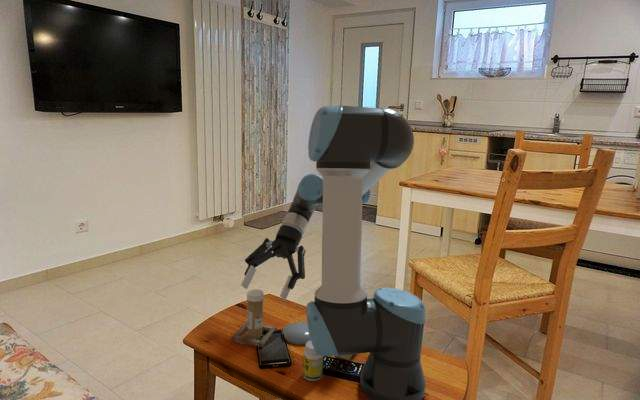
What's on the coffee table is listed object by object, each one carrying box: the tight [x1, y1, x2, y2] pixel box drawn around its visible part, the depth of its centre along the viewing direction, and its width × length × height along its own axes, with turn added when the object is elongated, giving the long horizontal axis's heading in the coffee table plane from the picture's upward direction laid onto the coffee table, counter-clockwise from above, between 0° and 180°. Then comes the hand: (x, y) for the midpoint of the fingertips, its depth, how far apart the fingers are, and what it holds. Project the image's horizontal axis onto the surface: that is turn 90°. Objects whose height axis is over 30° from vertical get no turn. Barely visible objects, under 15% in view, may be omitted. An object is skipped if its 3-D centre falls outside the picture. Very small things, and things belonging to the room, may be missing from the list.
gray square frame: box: [231, 321, 278, 348], centre depth 118 cm, size 9×9×1 cm
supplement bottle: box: [302, 340, 324, 382], centre depth 101 cm, size 5×5×8 cm
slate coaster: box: [282, 321, 311, 346], centre depth 121 cm, size 11×11×1 cm
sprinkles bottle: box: [246, 289, 265, 339], centre depth 117 cm, size 5×5×13 cm
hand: (262, 292), depth 121 cm, fingers open, 13 cm apart
